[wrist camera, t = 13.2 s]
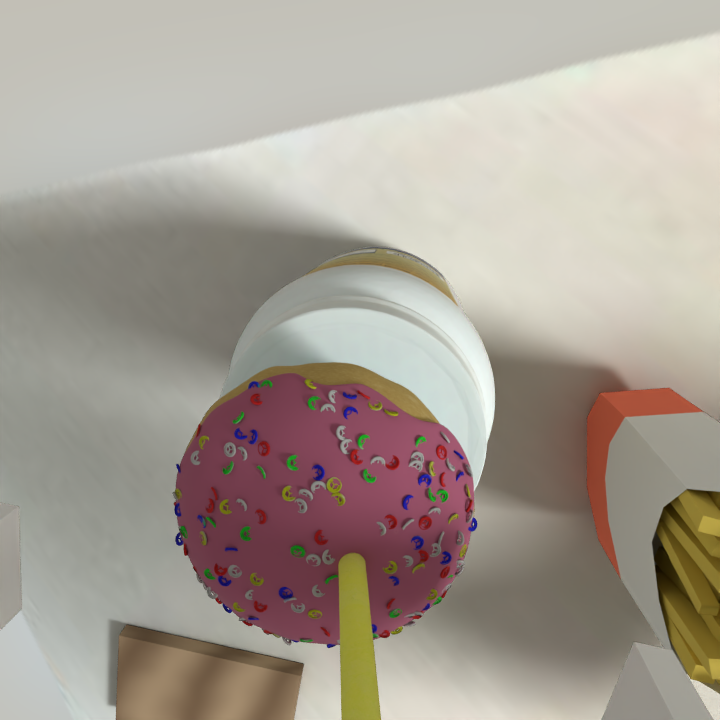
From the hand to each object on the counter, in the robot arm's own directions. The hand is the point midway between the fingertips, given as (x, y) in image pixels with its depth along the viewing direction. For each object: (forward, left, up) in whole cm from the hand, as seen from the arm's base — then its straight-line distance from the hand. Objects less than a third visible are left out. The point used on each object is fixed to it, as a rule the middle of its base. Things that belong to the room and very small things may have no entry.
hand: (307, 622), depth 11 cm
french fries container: (-18, +5, -26) cm, 32 cm away
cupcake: (0, 0, -9) cm, 9 cm away
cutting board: (+9, +35, -25) cm, 44 cm away
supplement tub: (0, 0, -26) cm, 26 cm away
